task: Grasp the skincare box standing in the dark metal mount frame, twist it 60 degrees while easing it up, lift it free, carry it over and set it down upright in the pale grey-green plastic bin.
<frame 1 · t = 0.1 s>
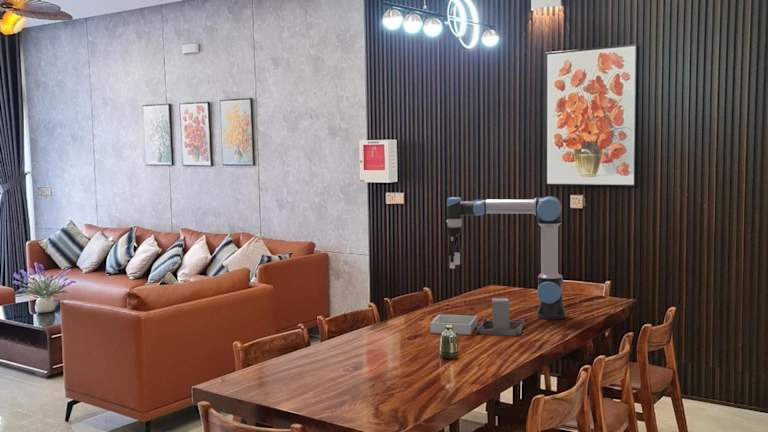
hand: (455, 266, 400), 28 cm above the table, fingers open, 13 cm apart
bin: (454, 329, 378), on the table
mount frame: (500, 330, 373), on the table
skincare box: (500, 330, 373), resting in mount frame
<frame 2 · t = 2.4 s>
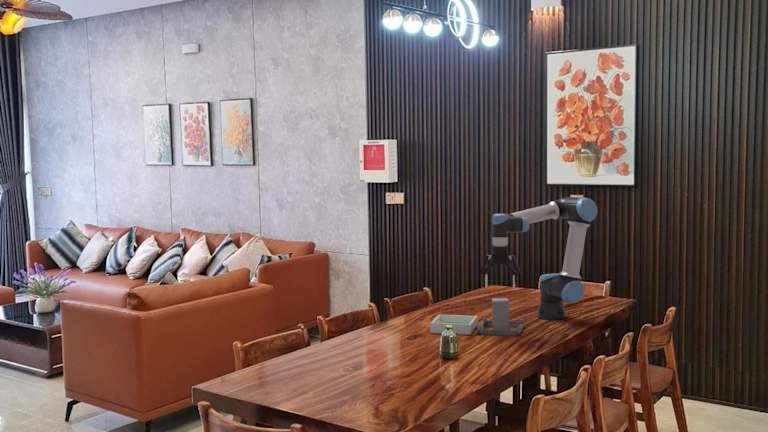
hand: (500, 288, 372), 21 cm above the table, fingers open, 13 cm apart
nothing on the table moved.
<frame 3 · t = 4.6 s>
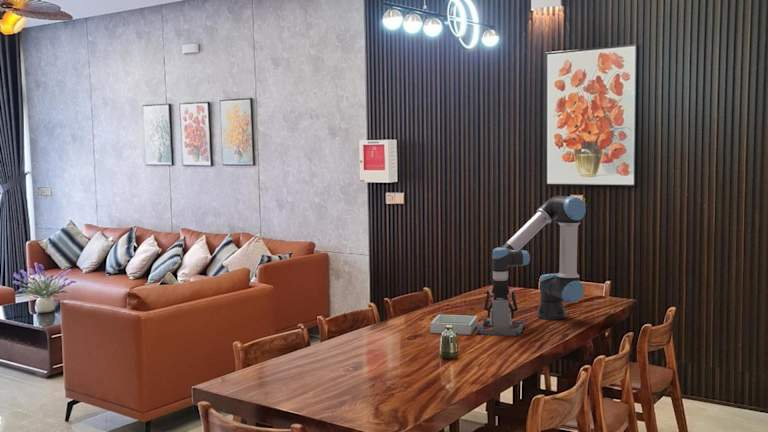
hand: (500, 324, 373), 3 cm above the table, fingers closed on skincare box, 9 cm apart
skincare box: (500, 330, 373), resting in mount frame, touching gripper
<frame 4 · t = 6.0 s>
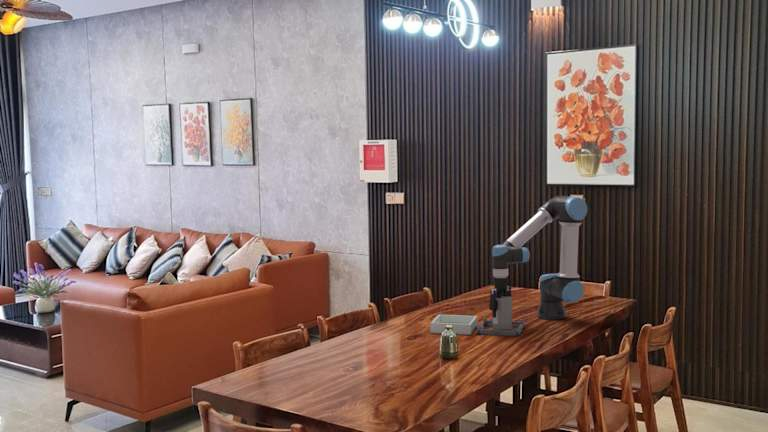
hand: (501, 322, 373), 4 cm above the table, fingers closed on skincare box, 8 cm apart
skincare box: (502, 328, 373), point 1 cm above the table, touching gripper
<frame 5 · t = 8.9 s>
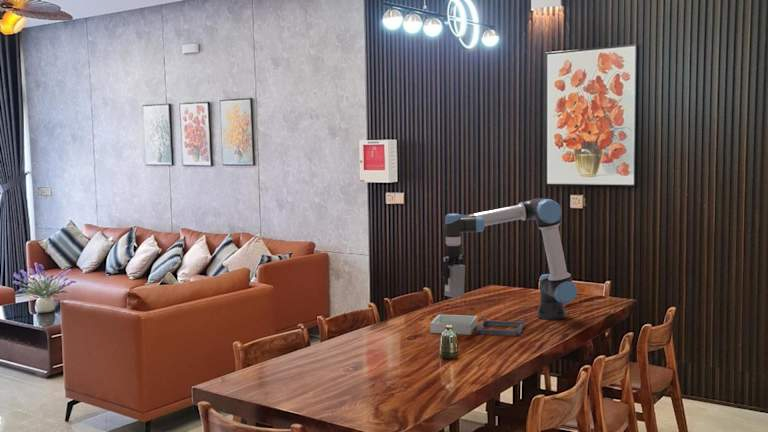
hand: (453, 290, 376), 20 cm above the table, fingers closed on skincare box, 8 cm apart
skincare box: (454, 296, 376), point 17 cm above the table, touching gripper
when the fingers open (6 cm above the table, at t = 12.1 s): skincare box drops 2 cm, resting on bin.
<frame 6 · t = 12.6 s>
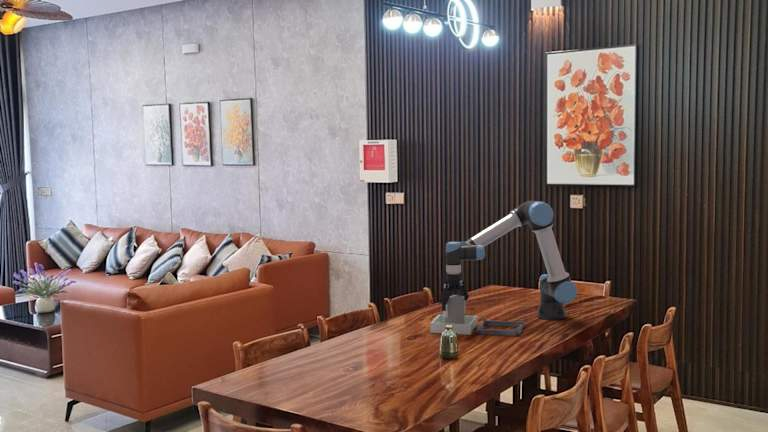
hand: (454, 315, 377), 7 cm above the table, fingers open, 13 cm apart
skincare box: (454, 327, 377), point 1 cm above the table, touching bin
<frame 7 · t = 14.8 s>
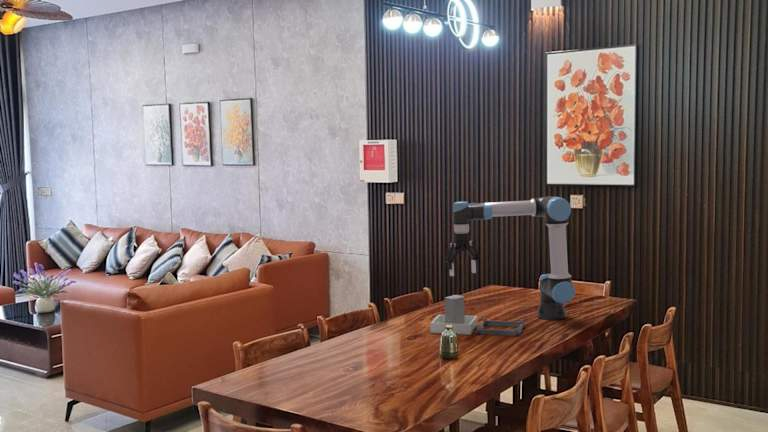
hand: (463, 274, 380), 27 cm above the table, fingers open, 13 cm apart
nothing on the table moved.
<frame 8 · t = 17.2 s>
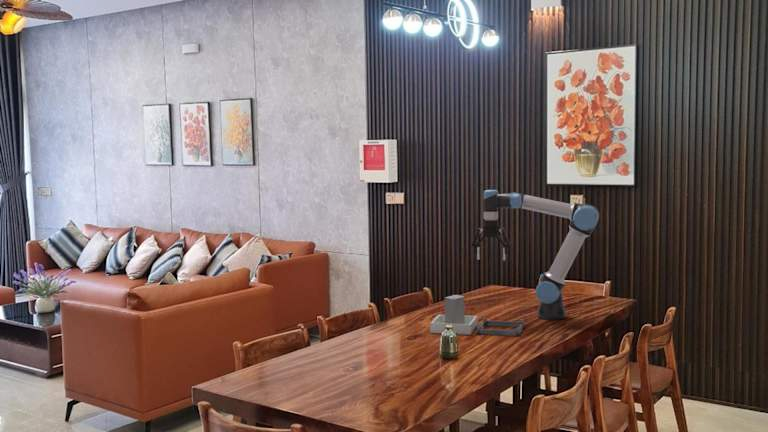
hand: (491, 259, 396), 32 cm above the table, fingers open, 13 cm apart
nothing on the table moved.
at the end: skincare box inside the target area on the bin (0.6 cm from its centre), point 0.8 cm above the bin's base; skincare box tilted 0°; the gripper is holding nothing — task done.
